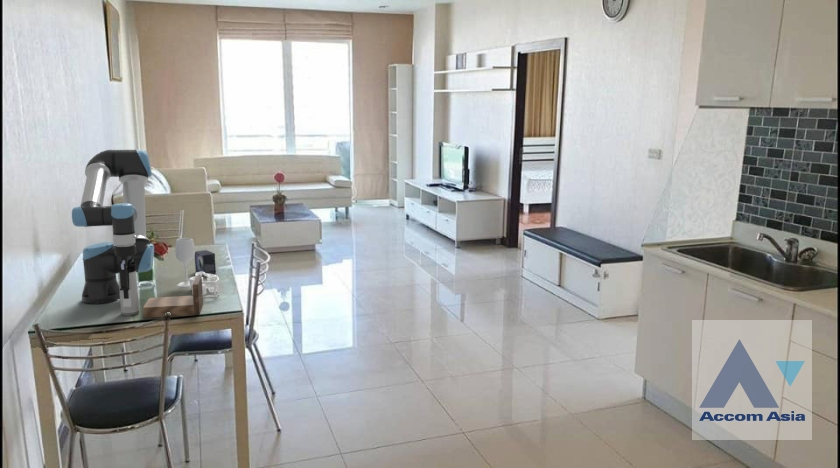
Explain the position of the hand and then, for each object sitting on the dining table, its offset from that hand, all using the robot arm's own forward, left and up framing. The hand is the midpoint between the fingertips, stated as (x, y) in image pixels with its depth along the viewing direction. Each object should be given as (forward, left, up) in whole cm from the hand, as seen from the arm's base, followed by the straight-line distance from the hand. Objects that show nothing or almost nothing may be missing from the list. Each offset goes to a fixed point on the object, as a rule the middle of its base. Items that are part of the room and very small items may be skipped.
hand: (129, 303), depth 239 cm
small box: (+22, +60, -4) cm, 64 cm away
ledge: (+16, 0, -4) cm, 16 cm away
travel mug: (0, 0, -4) cm, 4 cm away
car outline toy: (+25, +24, -4) cm, 35 cm away
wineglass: (+16, +39, -4) cm, 42 cm away
